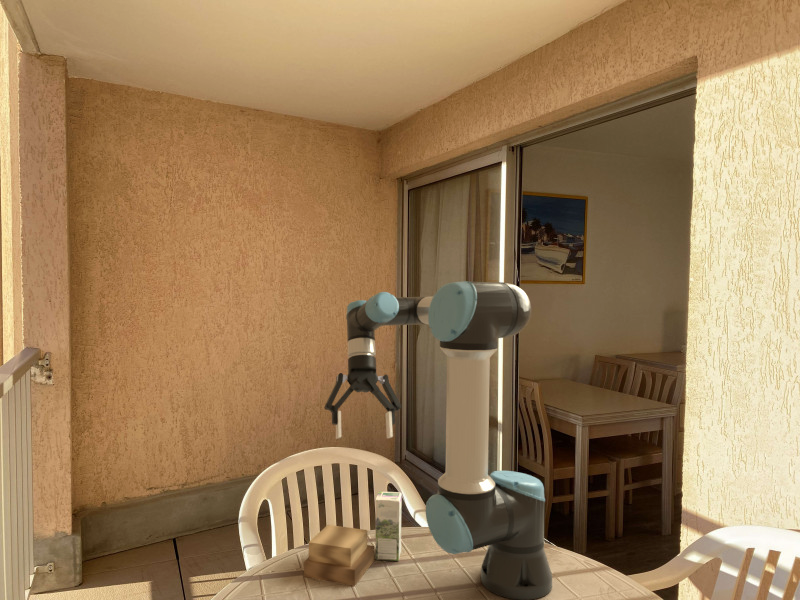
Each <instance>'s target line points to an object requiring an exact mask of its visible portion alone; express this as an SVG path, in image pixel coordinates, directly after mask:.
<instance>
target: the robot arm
mask: <svg viewBox="0 0 800 600" xmlns="http://www.w3.org/2000/svg"><path fill="white" fill-rule="evenodd" d="M531 316H532V305H531V300H530V298H529V296H528V295H527V293H526V292H525V291H524V290H523V289H522V288H520V287H519V286H517V285H516V284H513V283H510V282H509V283H508V282H501V281H499V282H497V281H496V282H494V281H493V282H491V281H490V282H487V281H481V282H480V281H467V280H463V281H456V282H454V281H453V282H448V283H445V284H443V285H442V286H441V287H440V288H439V289H437V291H436V293H434V295H433V296H410V297H409V296H408V297H406V296H395V295H394V294H391V293H390V292H387V291H380V292H378V293H376V294H374V295H373V296H371V297H369V299H368V300H365V299H364V300H363V299H361V300H360V299H358V300H355V301H352V302H350V303H348V304H347V306H346V317H345V318H346V331H347V332H346V334H347V338H346V339H347V340H346V341H347V357H348V359H347V374H343V373H342V372H339V373H338V374H337V375H336V377H335V379H336V380H335V384H334V386H333V388H332V390H331V392H330V395H329V396H328V397H327V401H326V403H325V405H324V410H326V411H327V410H328V411H330V413H331V424H332V425H333V426H334V425H335V439H336V440H337V439H341V438H342V436H343V435H342V411H341V410H339V409H340V408H341V406H342V405H343V404H344V402H346V400H347V399H348V398H349V397H350V395H351V394H352V393H353V392H356V393H361V392H363V393H369V392H370V393H371V394H372V395H373V396H374V397H375V398H376V399H377V401H378V402H379V403H380V404H381V405H382V406H383V408H384V409H385V410H386V411H387V412H386V413H384V414H385V430H386V433H385V435H386V439H391V438H393V437H394V433H393V432H394V431H393V425H395V424H396V411H399V410H401V409H402V403H400V400H399V399H398V397H397V395H396V393H395V391H394V390H393V387H392V386H391V383H390V380H389V376H388V374H384V375H380V376H379V375H378V374H377V359H376V355H377V354H376V337H375V335H376V333H375V332H376V330H378V329H379V328H381V327H383V326H405V325H406V326H411V325H412V326H413V325H414V326H415V325H418V326H419V325H420V326H421V325H423V326H429V328H430V333H431V335H432V336H433V338H435V339H436V340H438V341H439V349H440V350H441V351H442V352H443V353H444V354H445V356H446V358H447V359H446V407H445V408H446V411H445V412H446V414H445V417H446V418H445V472H444V473H443V474H442V475H441V476H440V477H438V479H437V493H435V494H432V495H431V496H430V497H429V498H428V500H427V501H426V504H425V519H426V523H427V526H428V529H429V532H430V534H431V536H432V537H433V540H434V541H435V542H436V544H437V545H438V546H439V547H440V549H441V550H443V551H444V552H446V553H448V554H449V555H450V554H451V555H459V554H462V553H466V554H467V553H470V552H472V551H473V550H477V549H480V548H483V547H487V549H486V551H485V554H484V557H483V560H482V563H481V568H480V581H481V584H482V585H483V586H484V588H486V589H487V590H488V591H490V592H492V593H493V594H495V595H497V596H499V597H503V598H507V599H513V600H534V599H539V598H542V597H544V596H547V595H548V594H549V593H550V592H551V591H552V589H553V574H552V570H551V567H550V564H549V560H548V557H547V554H546V551H545V512H546V511H545V505H546V504H545V503H546V498H545V487H544V483H543V482H542V481H541V480H540V479H539V478H537V477H535V476H532V475H531V474H527V473H523V472H517V471H512V470H494V471H492V472H490V474H489V435H490V434H489V431H490V430H489V429H490V428H489V427H490V425H489V424H490V423H489V421H490V377H491V376H490V375H491V372H490V371H491V369H490V367H491V366H490V365H491V364H490V362H491V358H492V356H493V355H494V354H495V353H496V352H497V351H498V340H499V339H504V338H510V337H513V336H515V335H518V334H519V333H521V332H522V331H523V330H524V329H525V328H526V326H527V325H528V324H529V322H530V320H531ZM346 381H347V383H348V385H349V387H348V388H347V390H346V391H345V392H344V393H343V394H342V396H341V397H340V398H339V399H338V400H337V401H336V403H335V404H333V403H334V401H335V400H336V397H337V395H338V393H339V391H340V389H341V386H342V385H343V384H344V383H345V382H346ZM378 382H379V384H381V386H382V389H383V390H384V392H385V394H386V396H387V397H386V396H385V394H384V393H383V392H382V391H381V389H380V387H379V385H377V383H378Z"/></svg>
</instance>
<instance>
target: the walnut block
mask: <svg viewBox="0 0 800 600" xmlns="http://www.w3.org/2000/svg"><path fill="white" fill-rule="evenodd" d="M374 561H375V545H369V544H367V548H366V549H365V551H364V552H363V553H362V554H361V555H360V557H359V558H358V559H357V560H356V561H355V562H354V564H353V565H352V566H351V567H348V566H342V565H335V564H329V563H323V562H317V561H311V560H309V556H308V557H307V558H306V559H305V560H304V562H303V578H305V579H312V580H316V581H317V580H318V581H323V582H328V583H329V582H330V583H335V584H336V583H337V584H340V585H346V586H352V587H353V586H354V587H356V585H357V584H358V583H359V581H360V580H361V579H362V577H363V576H364V575H365V574H366V572H367V571H368V570H369V569H370V567H371V566H372V564H374Z"/></svg>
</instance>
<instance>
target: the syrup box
mask: <svg viewBox="0 0 800 600" xmlns="http://www.w3.org/2000/svg"><path fill="white" fill-rule="evenodd" d="M401 553H402V492H399V491H397V492H396V491H395V492H394V491H378V492H377V495H376V499H375V545H374V560H377V561H393V562H394V561H396V562H399V561H400V557H401Z"/></svg>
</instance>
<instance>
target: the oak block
mask: <svg viewBox="0 0 800 600" xmlns="http://www.w3.org/2000/svg"><path fill="white" fill-rule="evenodd" d="M367 545H368V530H367V529H361V528H355V527H347V526H341V525H338V526H337V525H333V524H332V525H331V524H326V526H324V528H323V529H321V530H320V532H317V534H316V535H315V536H314V537H313V538H311V540H309V541H308V557H309V560H311V561H317V562H323V563H329V564H335V565H342V566H348V567H351V566H352V565H353V564H354V562H355V561H356V560H357V559H358V558H359V557H360V555H361V554H362V553H363V552H364V551H365V549H366V548H367Z"/></svg>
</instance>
